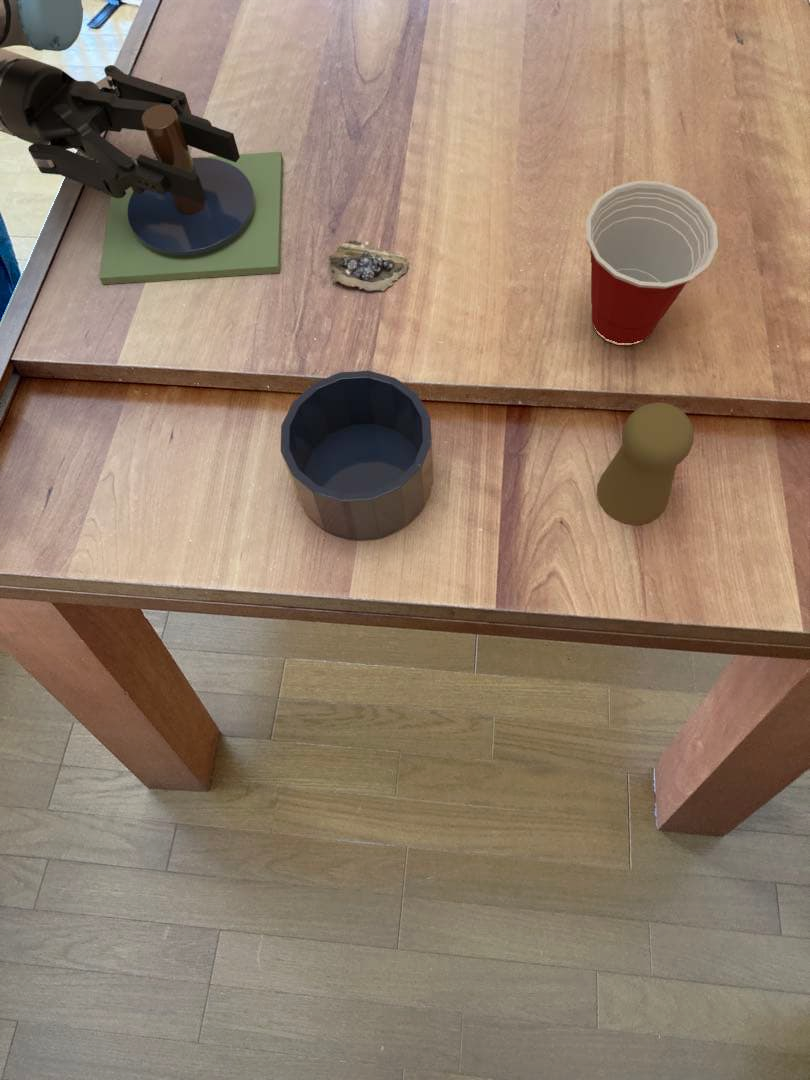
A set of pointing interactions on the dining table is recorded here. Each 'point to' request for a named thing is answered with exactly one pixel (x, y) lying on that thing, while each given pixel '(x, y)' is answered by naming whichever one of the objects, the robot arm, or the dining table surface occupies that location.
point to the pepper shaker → (645, 464)
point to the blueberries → (366, 266)
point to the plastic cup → (644, 254)
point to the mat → (237, 257)
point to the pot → (359, 454)
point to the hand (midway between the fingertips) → (217, 168)
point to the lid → (178, 219)
